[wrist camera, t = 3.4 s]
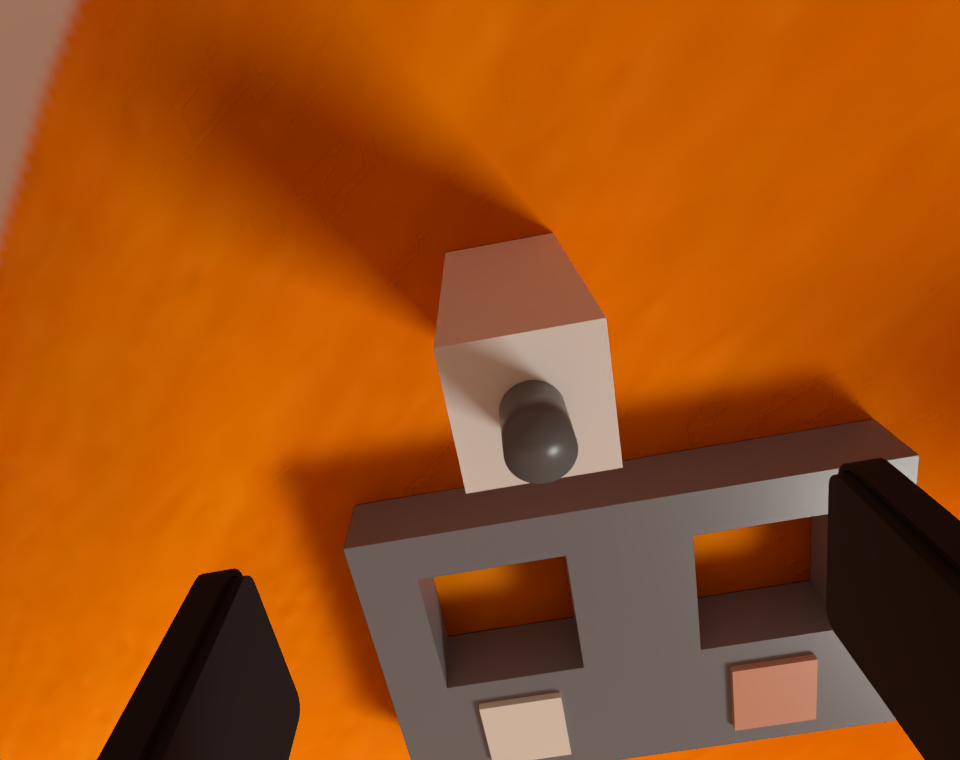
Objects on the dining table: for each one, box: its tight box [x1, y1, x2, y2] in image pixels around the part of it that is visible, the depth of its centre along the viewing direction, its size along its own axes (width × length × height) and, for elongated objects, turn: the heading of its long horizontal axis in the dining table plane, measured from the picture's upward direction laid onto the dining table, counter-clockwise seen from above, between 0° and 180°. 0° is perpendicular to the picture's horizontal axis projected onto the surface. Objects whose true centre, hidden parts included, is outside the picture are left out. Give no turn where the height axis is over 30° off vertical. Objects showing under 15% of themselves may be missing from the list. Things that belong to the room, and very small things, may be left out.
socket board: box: [343, 419, 919, 760], centre depth 29 cm, size 14×22×3 cm, turn 100°
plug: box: [434, 233, 623, 494], centre depth 20 cm, size 4×4×12 cm
